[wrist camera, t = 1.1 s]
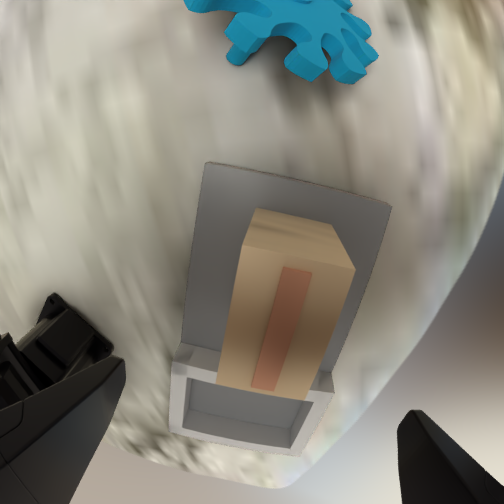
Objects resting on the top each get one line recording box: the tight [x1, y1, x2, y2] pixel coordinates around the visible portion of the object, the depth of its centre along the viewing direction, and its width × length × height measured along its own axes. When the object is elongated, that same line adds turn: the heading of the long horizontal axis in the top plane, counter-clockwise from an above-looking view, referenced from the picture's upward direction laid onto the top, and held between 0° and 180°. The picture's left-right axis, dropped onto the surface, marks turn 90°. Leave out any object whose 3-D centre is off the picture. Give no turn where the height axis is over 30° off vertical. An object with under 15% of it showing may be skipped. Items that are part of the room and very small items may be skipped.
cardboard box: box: [215, 208, 356, 401], centre depth 15 cm, size 6×4×6 cm, turn 169°
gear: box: [184, 0, 379, 84], centre depth 12 cm, size 11×6×10 cm
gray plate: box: [169, 162, 392, 457], centre depth 19 cm, size 20×10×3 cm, turn 169°
